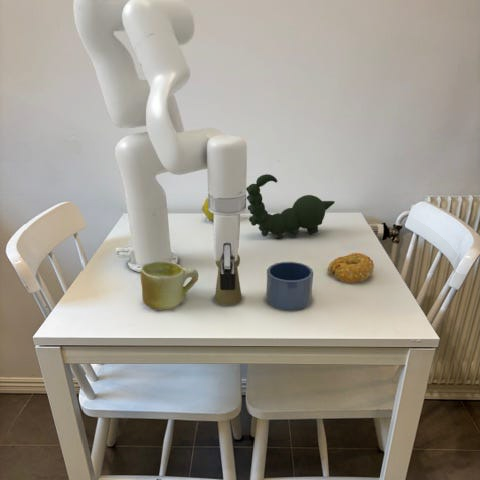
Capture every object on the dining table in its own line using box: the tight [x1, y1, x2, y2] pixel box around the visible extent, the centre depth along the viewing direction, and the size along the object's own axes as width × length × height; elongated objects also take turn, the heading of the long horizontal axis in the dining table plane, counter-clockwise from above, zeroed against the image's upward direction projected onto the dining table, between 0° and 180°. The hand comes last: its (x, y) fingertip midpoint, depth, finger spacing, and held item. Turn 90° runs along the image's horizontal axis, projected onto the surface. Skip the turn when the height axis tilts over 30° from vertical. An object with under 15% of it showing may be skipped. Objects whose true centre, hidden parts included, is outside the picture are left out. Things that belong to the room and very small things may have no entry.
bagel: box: [327, 252, 375, 284], centre depth 116 cm, size 10×11×5 cm
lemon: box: [201, 197, 214, 221], centre depth 149 cm, size 11×8×8 cm
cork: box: [214, 254, 243, 306], centre depth 104 cm, size 6×6×11 cm
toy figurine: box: [246, 173, 335, 240], centre depth 136 cm, size 9×19×25 cm
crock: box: [265, 261, 314, 312], centre depth 105 cm, size 10×10×7 cm
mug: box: [140, 261, 199, 311], centre depth 105 cm, size 12×10×10 cm
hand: (228, 282), depth 105 cm, fingers closed on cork, 4 cm apart
